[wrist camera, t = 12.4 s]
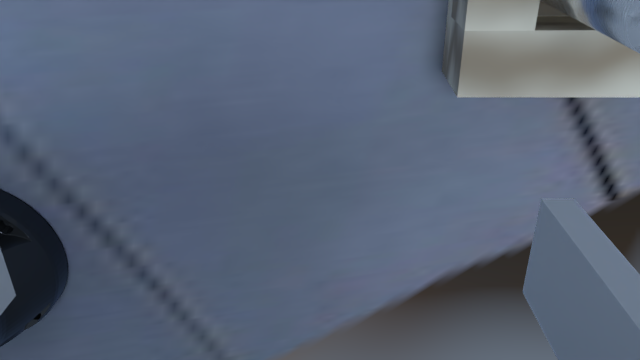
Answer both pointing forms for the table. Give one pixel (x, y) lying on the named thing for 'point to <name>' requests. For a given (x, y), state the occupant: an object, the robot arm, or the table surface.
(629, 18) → the peg
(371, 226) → the table surface
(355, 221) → the table surface
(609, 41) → the bore block
